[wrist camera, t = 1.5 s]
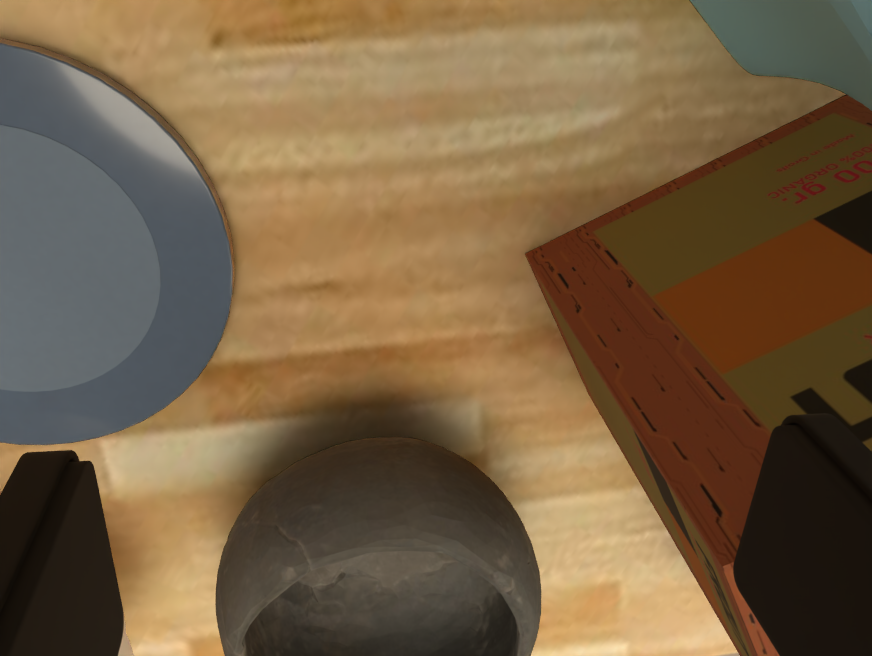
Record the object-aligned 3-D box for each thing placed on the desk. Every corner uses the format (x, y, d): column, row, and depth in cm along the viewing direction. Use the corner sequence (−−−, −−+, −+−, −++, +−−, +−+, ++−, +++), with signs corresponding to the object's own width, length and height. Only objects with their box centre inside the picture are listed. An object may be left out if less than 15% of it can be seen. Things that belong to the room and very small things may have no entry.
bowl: (303, 638, 46) (302, 808, 38) (177, 454, 39) (140, 611, 30) (538, 550, 46) (593, 701, 37) (455, 346, 38) (499, 474, 30)
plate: (-306, 296, 32) (-324, 307, 31) (-102, -78, 27) (-116, -77, 26) (98, 491, 39) (93, 505, 38) (317, 224, 35) (317, 233, 34)
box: (588, 394, 41) (797, 754, 23) (524, 253, 37) (721, 566, 19) (891, 251, 39) (1355, 521, 22) (862, 86, 35) (1409, 261, 18)
